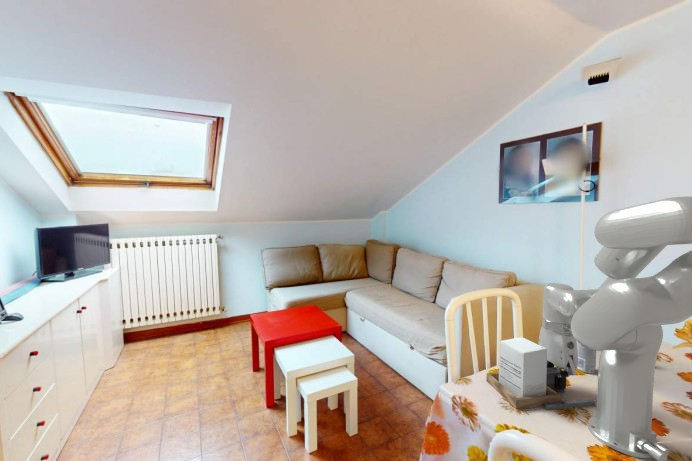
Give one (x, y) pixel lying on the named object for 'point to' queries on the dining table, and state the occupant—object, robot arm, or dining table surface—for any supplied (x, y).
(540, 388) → the supplement box
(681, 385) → the dining table surface
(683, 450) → the dining table surface
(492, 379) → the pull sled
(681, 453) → the dining table surface
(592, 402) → the lane rails
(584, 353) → the energy drink
